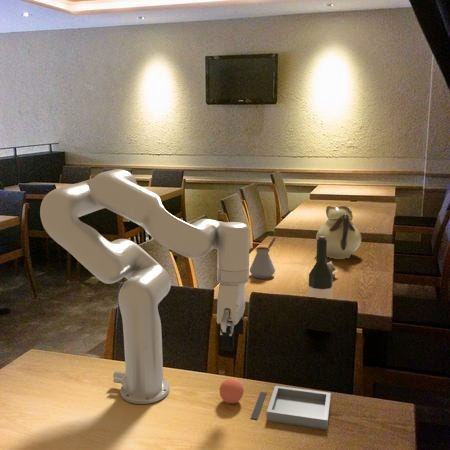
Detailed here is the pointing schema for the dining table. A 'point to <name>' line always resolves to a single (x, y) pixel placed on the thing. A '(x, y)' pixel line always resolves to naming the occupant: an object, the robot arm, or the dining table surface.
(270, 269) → the coffee pot
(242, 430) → the dining table surface
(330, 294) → the wine bottle
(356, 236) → the white drawstring sack
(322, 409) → the tray
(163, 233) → the robot arm
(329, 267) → the architectural model
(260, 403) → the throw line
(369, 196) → the dining table surface
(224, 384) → the ball
